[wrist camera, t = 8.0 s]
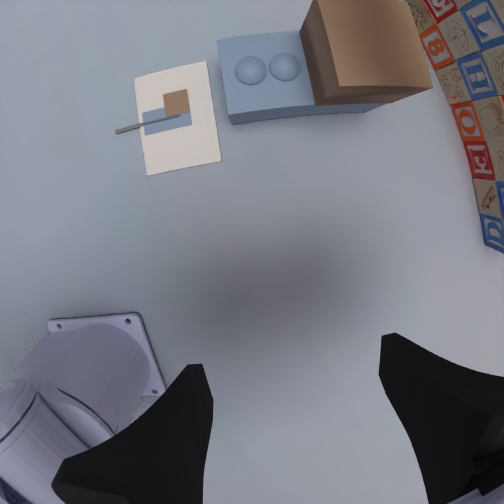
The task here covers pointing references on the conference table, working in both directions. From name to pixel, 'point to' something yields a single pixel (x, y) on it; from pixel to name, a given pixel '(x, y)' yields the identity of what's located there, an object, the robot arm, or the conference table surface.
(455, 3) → the stack of blocks
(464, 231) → the conference table surface
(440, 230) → the conference table surface
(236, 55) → the base brick
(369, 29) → the walnut brick
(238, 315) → the conference table surface
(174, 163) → the page
